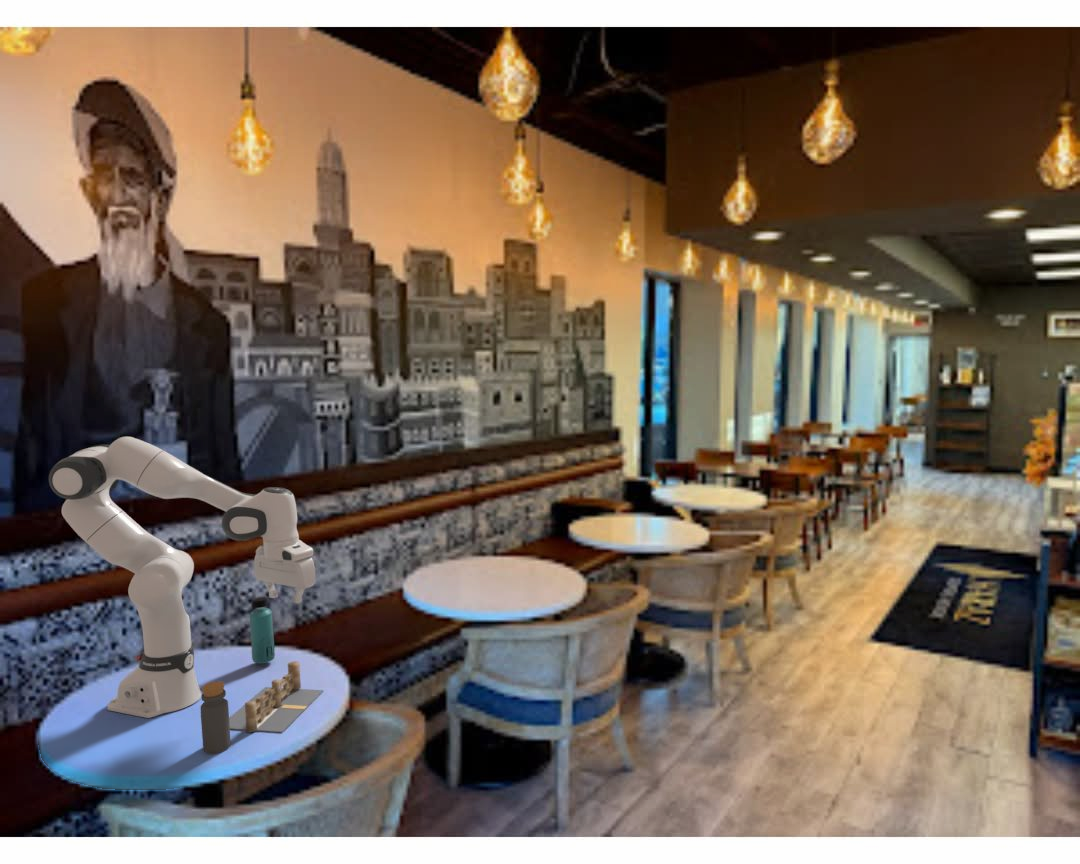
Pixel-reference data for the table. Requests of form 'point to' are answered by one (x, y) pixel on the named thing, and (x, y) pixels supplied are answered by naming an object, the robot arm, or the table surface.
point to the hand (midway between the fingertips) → (285, 599)
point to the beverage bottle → (261, 632)
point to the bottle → (215, 718)
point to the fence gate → (291, 679)
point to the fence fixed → (258, 705)
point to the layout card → (278, 711)
